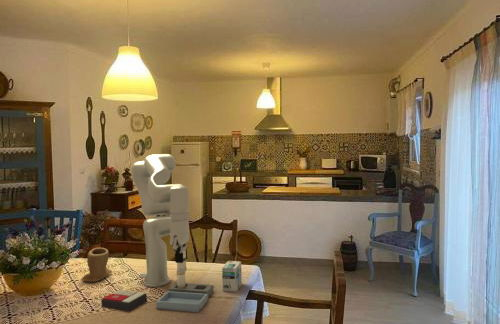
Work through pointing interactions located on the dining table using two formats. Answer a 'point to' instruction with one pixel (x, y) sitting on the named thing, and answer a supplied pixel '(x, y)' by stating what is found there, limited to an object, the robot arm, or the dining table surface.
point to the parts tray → (182, 301)
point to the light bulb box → (232, 276)
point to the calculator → (124, 300)
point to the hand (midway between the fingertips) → (181, 260)
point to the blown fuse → (182, 266)
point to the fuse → (181, 280)
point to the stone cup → (97, 264)
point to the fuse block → (193, 288)
